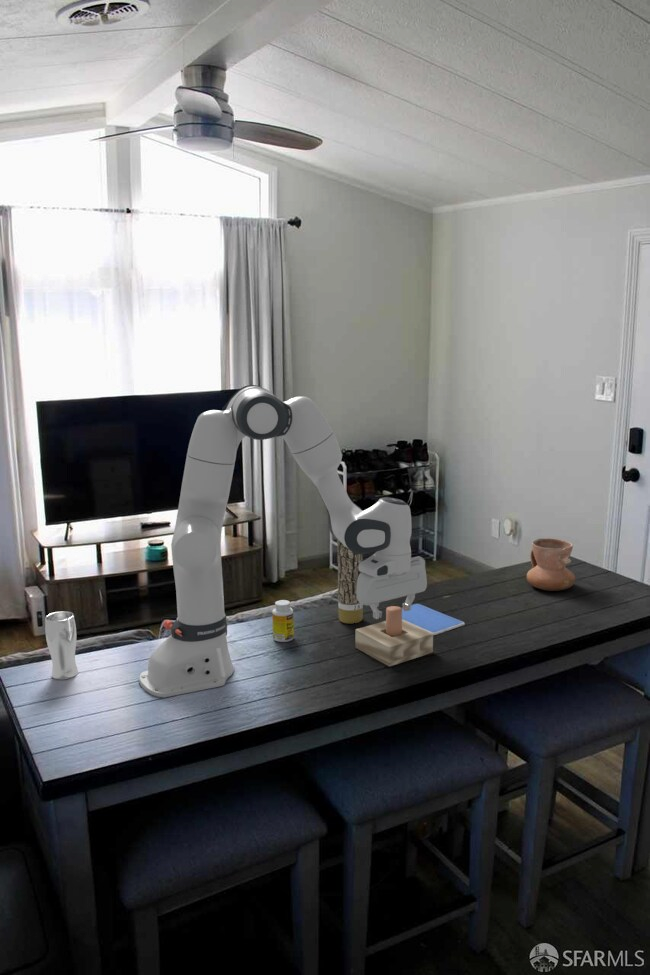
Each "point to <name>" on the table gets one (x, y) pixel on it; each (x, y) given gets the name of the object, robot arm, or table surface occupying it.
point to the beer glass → (61, 644)
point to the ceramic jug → (550, 565)
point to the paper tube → (348, 585)
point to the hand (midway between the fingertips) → (392, 614)
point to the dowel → (393, 621)
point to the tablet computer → (430, 619)
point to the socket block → (394, 643)
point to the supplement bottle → (283, 621)
